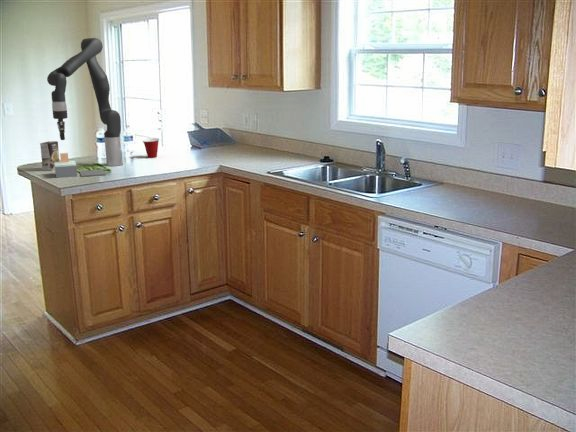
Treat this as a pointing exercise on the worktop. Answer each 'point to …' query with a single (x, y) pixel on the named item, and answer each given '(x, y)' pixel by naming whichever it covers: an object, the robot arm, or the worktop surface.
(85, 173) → the mat
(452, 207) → the worktop surface
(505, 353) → the worktop surface
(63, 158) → the lid
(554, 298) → the worktop surface
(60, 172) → the tub
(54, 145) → the coffee box
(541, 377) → the worktop surface
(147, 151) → the plastic cup
